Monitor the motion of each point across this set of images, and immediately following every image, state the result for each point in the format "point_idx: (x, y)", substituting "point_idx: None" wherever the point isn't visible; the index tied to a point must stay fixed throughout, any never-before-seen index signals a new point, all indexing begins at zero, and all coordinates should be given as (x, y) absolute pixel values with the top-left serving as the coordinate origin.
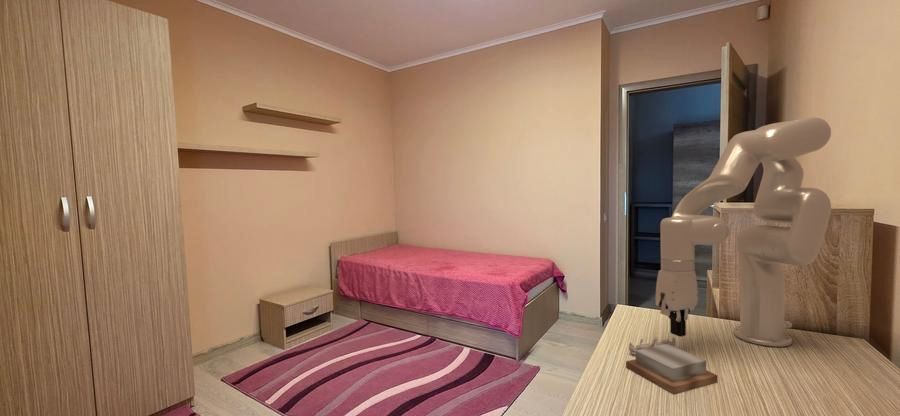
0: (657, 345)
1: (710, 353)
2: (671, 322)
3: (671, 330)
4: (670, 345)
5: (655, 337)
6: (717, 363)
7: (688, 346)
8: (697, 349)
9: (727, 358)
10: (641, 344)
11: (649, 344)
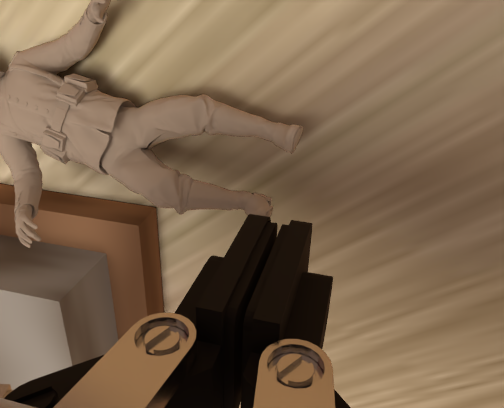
0: (114, 171)
1: (474, 313)
2: (177, 313)
3: (210, 258)
4: (61, 325)
5: (20, 227)
6: (353, 378)
7: (477, 177)
8: (473, 240)
9: (479, 389)
10: (6, 109)
11: (52, 148)
